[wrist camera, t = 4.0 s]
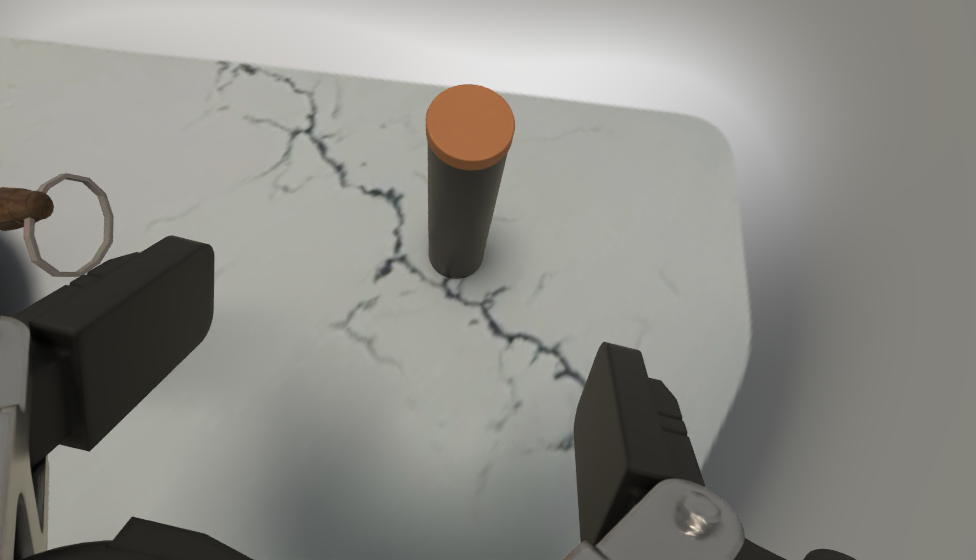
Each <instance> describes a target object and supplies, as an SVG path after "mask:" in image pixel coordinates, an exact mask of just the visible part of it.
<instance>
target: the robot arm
mask: <svg viewBox="0 0 976 560" xmlns="http://www.w3.org/2000/svg"><path fill="white" fill-rule="evenodd" d="M213 309H214V251H213V248H212V247H211V246H210V245H209V244H205V243H201V242H197V241H193V240H189V239H185V238H180V237H176V236H167V237H165V238H164V239H162V240H160V241H159V242H157V243H155V244H154V245H152V246H151V247H149V248H147V249H146V250H144V251H142V252H141V253H139V252H135V253H132V254H128V255H125V256H121V257H117V258H114V259H110V260H108V261H106V262H104V263H103V264H101V265H99V266H97V267H96V268H94V269H92V270H91V271H89V272H88V273H87V275H82V276H80V277H79V278H77V279H75V280H73V281H72V282H70V285H69V286H68V285H65V286H63V287H61V288H60V289H58V290H56V291H55V292H53V293H51V294H49V295H48V296H46V297H44V298H43V299H41V300H39V301H37V302H36V303H34V304H32V305H31V306H29V307H27V308H25V309H24V310H22V311H20V312H19V313H17V314H15V315H13V316H12V317H6V316H0V560H253V559H251V558H249V557H247V556H246V555H244V554H242V553H240V552H238V551H236V550H234V549H232V548H231V547H229V546H227V545H225V544H223V543H221V542H219V541H218V540H216V539H214V538H212V537H210V536H208V535H206V534H204V533H199V532H195V531H191V530H187V529H182V528H178V527H174V526H170V525H166V524H161V523H157V522H153V521H149V520H144V519H140V518H136V517H131V518H130V520H129V521H128V522H127V523H126V525H125V526H124V527H123V528H122V530H121V531H120V532H119V533H118V535H117V536H116V537H115V538H114V539H113V540H106V541H96V542H85V543H79V544H74V545H68V546H63V547H59V548H55V549H51V550H48V551H47V544H48V502H49V462H48V454H49V453H50V452H51V451H52V450H53V449H54V448H55V447H56V446H58V445H59V444H60V445H64V446H68V447H73V448H77V449H81V450H85V451H89V452H90V451H91V450H92V449H93V448H94V447H95V446H96V445H97V444H98V443H99V442H100V441H101V440H102V439H103V438H104V437H105V436H106V435H107V434H108V433H109V432H110V431H111V430H112V429H113V428H114V427H115V426H116V425H117V424H118V423H119V422H120V421H121V420H122V419H123V418H124V417H125V416H126V415H127V414H128V413H129V412H130V411H131V410H132V409H133V408H135V407H136V406H137V405H138V404H139V403H140V402H141V401H142V400H143V399H144V398H145V397H146V396H147V395H148V394H149V393H150V392H151V391H152V390H153V389H154V388H155V387H156V386H157V385H158V384H159V383H160V382H161V381H162V380H163V379H164V378H165V377H166V376H167V375H168V374H169V373H170V372H171V371H172V370H173V369H174V368H175V367H176V366H177V365H178V364H179V363H181V362H182V361H183V360H184V359H185V358H186V357H187V356H188V355H189V354H190V353H191V352H192V351H193V350H194V349H195V348H196V347H197V346H198V345H199V344H200V343H201V342H202V341H203V339H204V338H205V336H206V335H207V333H208V331H209V328H210V326H211V323H212V319H213ZM574 445H575V460H576V476H577V491H578V507H579V522H580V538H581V543H580V544H579V545H578V546H577V547H576V548H575V549H573V550H572V551H571V552H570V553H569V554H568V555H567V556H566V557H565V558H564V559H563V560H786V559H784V558H782V557H780V556H778V555H776V554H774V553H772V552H770V551H768V550H766V549H764V548H762V547H760V546H758V545H756V544H754V543H752V542H751V541H749V540H748V539H746V538H745V536H744V530H743V526H742V523H741V522H740V520H739V518H738V516H737V515H736V513H735V512H734V511H733V509H732V508H731V507H730V506H729V505H728V504H727V503H726V502H725V501H724V500H723V499H722V498H721V497H719V496H718V495H717V494H715V493H714V492H712V491H710V490H709V489H707V488H706V487H705V484H704V481H703V478H702V475H701V472H700V469H699V466H698V463H697V460H696V457H695V454H694V451H693V448H692V445H691V442H690V439H689V437H687V430H686V427H685V424H684V421H682V415H681V412H680V409H679V406H678V402H677V399H676V398H675V397H674V396H673V394H672V393H671V392H670V391H669V390H668V388H667V387H666V386H665V385H664V384H663V382H662V381H660V380H656V379H652V378H648V375H647V371H646V368H645V364H644V360H643V357H642V354H641V352H640V351H639V350H636V349H632V348H627V347H623V346H619V345H615V344H611V343H607V342H603V343H602V344H601V346H600V347H599V349H598V352H597V354H596V357H595V360H594V363H593V365H592V368H591V371H590V373H589V376H588V379H587V382H586V384H585V387H584V390H583V392H582V395H581V398H580V401H579V403H578V407H577V411H576V415H575V422H574ZM804 560H856V559H854V558H852V557H850V556H848V555H846V554H843V553H840V552H837V551H834V550H829V549H817V550H813V551H811V552H809V553H808V554H807V555H806V557H805V558H804Z"/></svg>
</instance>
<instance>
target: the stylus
mask: <svg viewBox="0 0 976 560" xmlns="http://www.w3.org/2000/svg"><path fill="white" fill-rule="evenodd" d="M514 130H515V120H514V116H513V113H512V110H511V109H510V107H509V105H508V104H507V102H506V101H505V100H504V99H503V98H502V97H501V96H500V95H499V94H497V93H496V92H494V91H492V90H490V89H488V88H485V87H483V86H478V85H469V84H465V85H458V86H454V87H451V88H449V89H447V90H445V91H443V92H442V93H440V94H439V95H438V96H437V97H436V98H435V99H434V100H433V101H432V103H431V104H430V106H429V108H428V111H427V114H426V136H427V141H428V239H429V259H430V262H431V264H432V266H433V267H434V268H435V269H436V270H437V271H438V272H439V273H440V274H442V275H444V276H446V277H450V278H463V277H466V276H469V275H470V274H472V273H473V272H475V271H476V270H477V269H478V267H479V266H480V264H481V261H482V258H483V254H484V249H485V245H486V241H487V237H488V233H489V228H490V224H491V220H492V216H493V212H494V208H495V203H496V199H497V195H498V191H499V187H500V182H501V178H502V174H503V170H504V166H505V161H506V157H507V153H508V150H509V149H510V146H511V143H512V139H513V135H514Z"/></svg>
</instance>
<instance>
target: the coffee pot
mask: <svg viewBox="0 0 976 560" xmlns="http://www.w3.org/2000/svg"><path fill="white" fill-rule="evenodd" d="M64 179H67V180H73V181H78V182H83V183H84V184H85V185H86V186H87V187H88V188H89V189H90V190H91V191H92V192H93V193H94V194H96V195H97V196H98V199H99V202H100V205H101V208H102V212H103V215H104V242H103V243H102V245H101V246H100V248H99V250H98V251H97V253H96V254H95V256H94V258H93V259H92V261H90V262H89V263H88V264H86V265H85V266H83V267H82V268H81V269H79V270H78V271H76V272H59V271H58V270H57V269H55V268H54V267H53V266H51V265H50V264H48V263H47V262H46V261H44V260H43V259H42V258H41V256H40V253H39V250H38V246H37V243H36V240H35V237H34V226H35V223H36V222H38V221H39V220H42V219H46V218H48V217H49V216H51V214H52V212H53V208H54V205H53V202H52V200H51V198H50V197H49V196H48V195H47V194H46V193H47V192H48V190H49V189H50V188H51V187H53V186H54V185H56V184H58V183H59V182H61V181H63V180H64ZM113 217H114V216H113V213H112V210H111V207H110V204H109V201H108V198H107V195H106V193H105V192H104V191H103V190H102V189H101V188H99V187H98V186H97V185H96V184H95V183H94V182H93V181H92V180H91V179H90V178H87V177H82V176H77V175H72V174H67V173H65V174H60V175H58V176H56V177H55V178H53V179H51V180H49V181H48V182H46V183H44V184H42V185H41V186H40V187H39V189H38V190H37V191H31V190H27V189H21V188H6V187H2V188H0V230H2V231H8V230H14V229H18V228H22V227H24V236H23V237H24V240H25V243H26V246H27V249H28V252H29V255H30V258H31V261H32V262H33V263H35V264H36V265H38V266H39V267H40V268H42V269H43V270H45V271H46V272H47V273H49V274H50V275H52V276H57V277H79V276H82V275H84V274H85V273H87V272H88V271H90V270H91V269H93V268H94V267H95V266H97V265H98V264H100V262H101V261H102V259H103V257H104V256H105V254H106V253H107V251H108V249H109V248H110V246H111V244H112V243H113Z"/></svg>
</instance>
